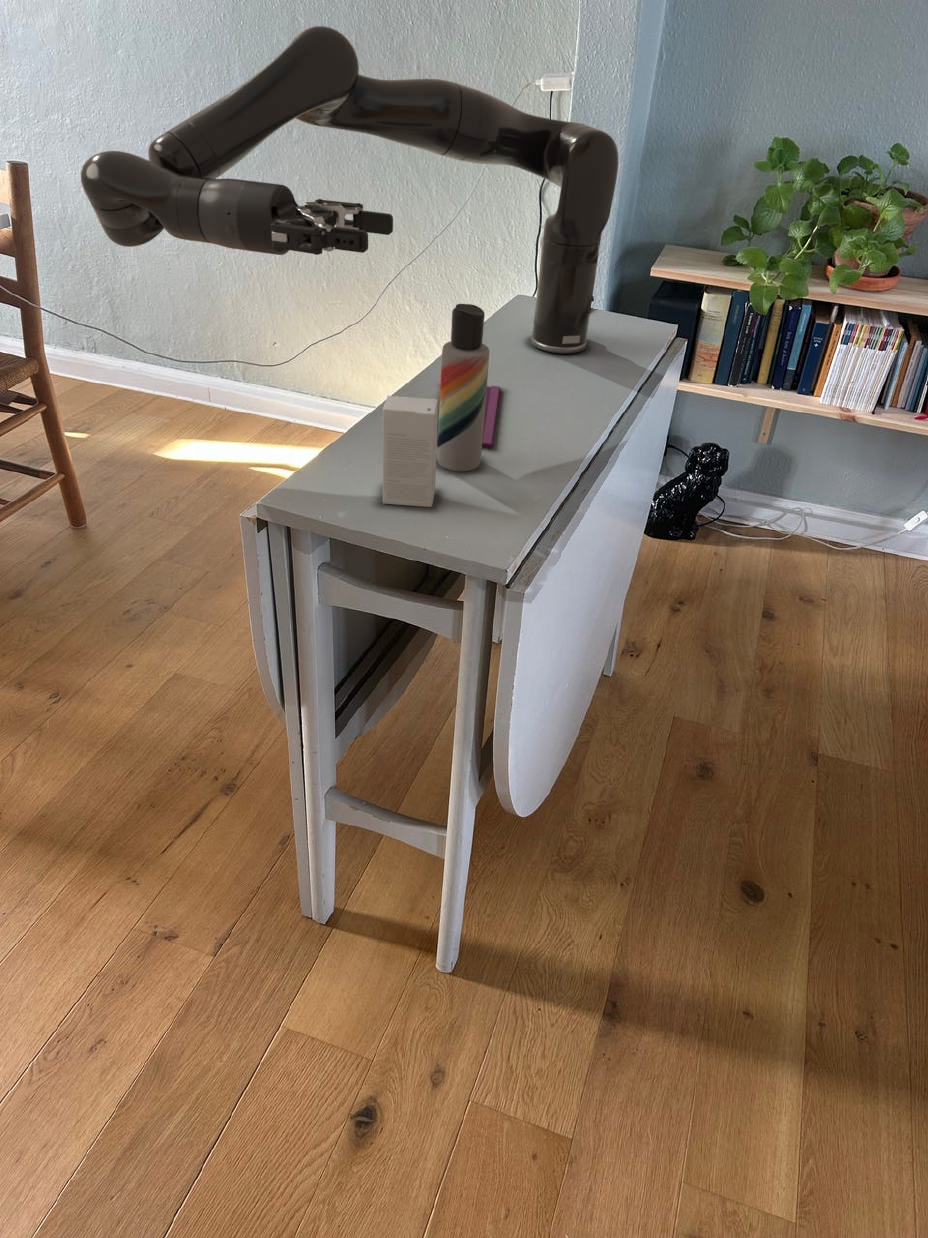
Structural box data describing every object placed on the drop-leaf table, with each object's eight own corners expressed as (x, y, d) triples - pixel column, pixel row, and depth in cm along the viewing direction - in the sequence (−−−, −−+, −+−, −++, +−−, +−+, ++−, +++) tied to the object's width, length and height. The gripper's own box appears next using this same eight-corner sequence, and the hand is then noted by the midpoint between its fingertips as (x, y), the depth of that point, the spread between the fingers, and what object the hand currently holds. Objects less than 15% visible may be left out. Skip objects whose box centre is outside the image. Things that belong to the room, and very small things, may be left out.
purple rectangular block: (448, 385, 136) (448, 381, 135) (500, 390, 136) (500, 386, 135) (433, 442, 120) (433, 438, 119) (492, 448, 120) (493, 443, 119)
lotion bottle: (437, 450, 118) (445, 296, 106) (480, 453, 118) (493, 300, 106) (435, 470, 113) (443, 312, 101) (480, 473, 113) (493, 315, 101)
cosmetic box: (435, 491, 109) (440, 398, 102) (432, 508, 106) (436, 413, 98) (386, 487, 109) (387, 393, 102) (381, 504, 106) (381, 409, 99)
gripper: (216, 193, 96) (358, 210, 94) (271, 170, 108) (400, 185, 105) (223, 265, 101) (359, 283, 98) (276, 235, 112) (399, 252, 109)
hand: (380, 232), depth 102 cm, fingers open, 8 cm apart
